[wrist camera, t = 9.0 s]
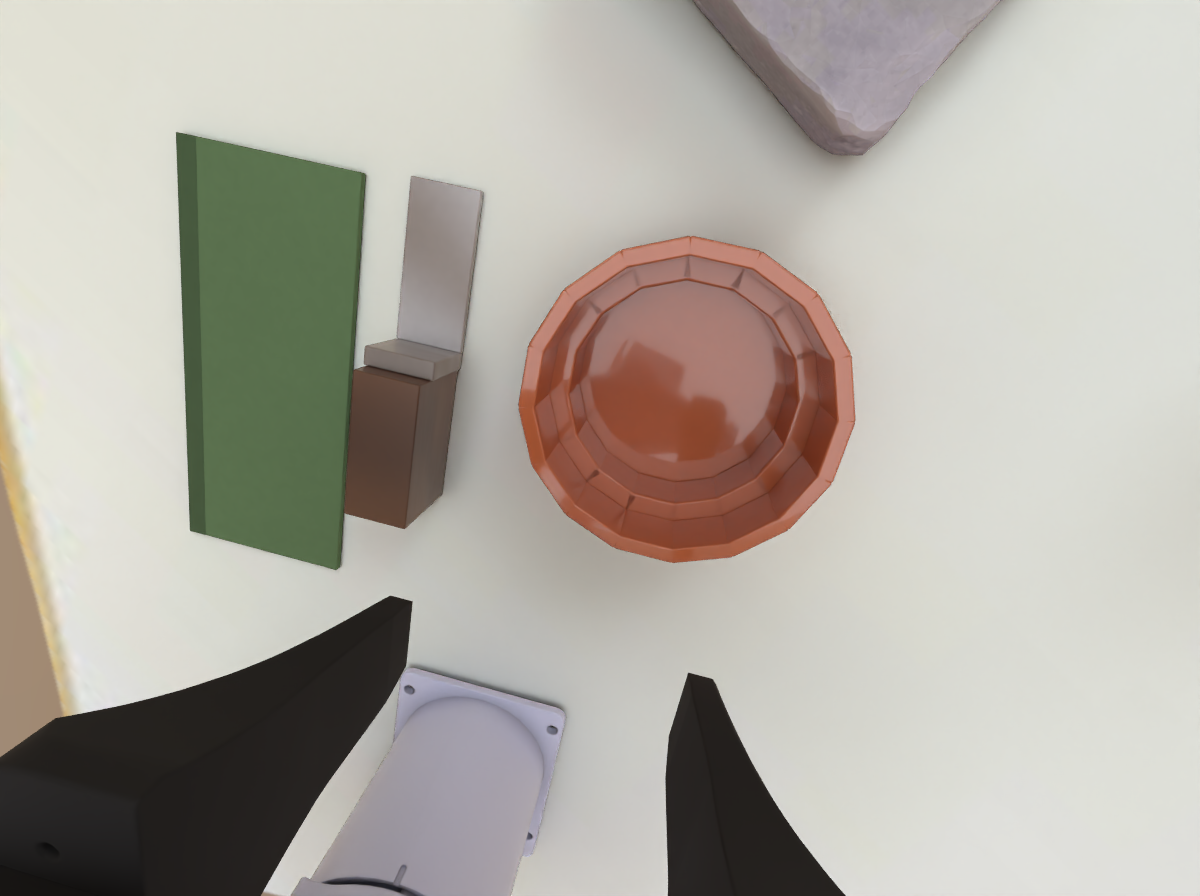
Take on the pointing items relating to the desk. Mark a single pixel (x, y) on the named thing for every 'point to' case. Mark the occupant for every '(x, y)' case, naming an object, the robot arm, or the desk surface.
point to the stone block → (845, 57)
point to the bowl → (687, 399)
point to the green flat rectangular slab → (268, 343)
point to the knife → (415, 363)
